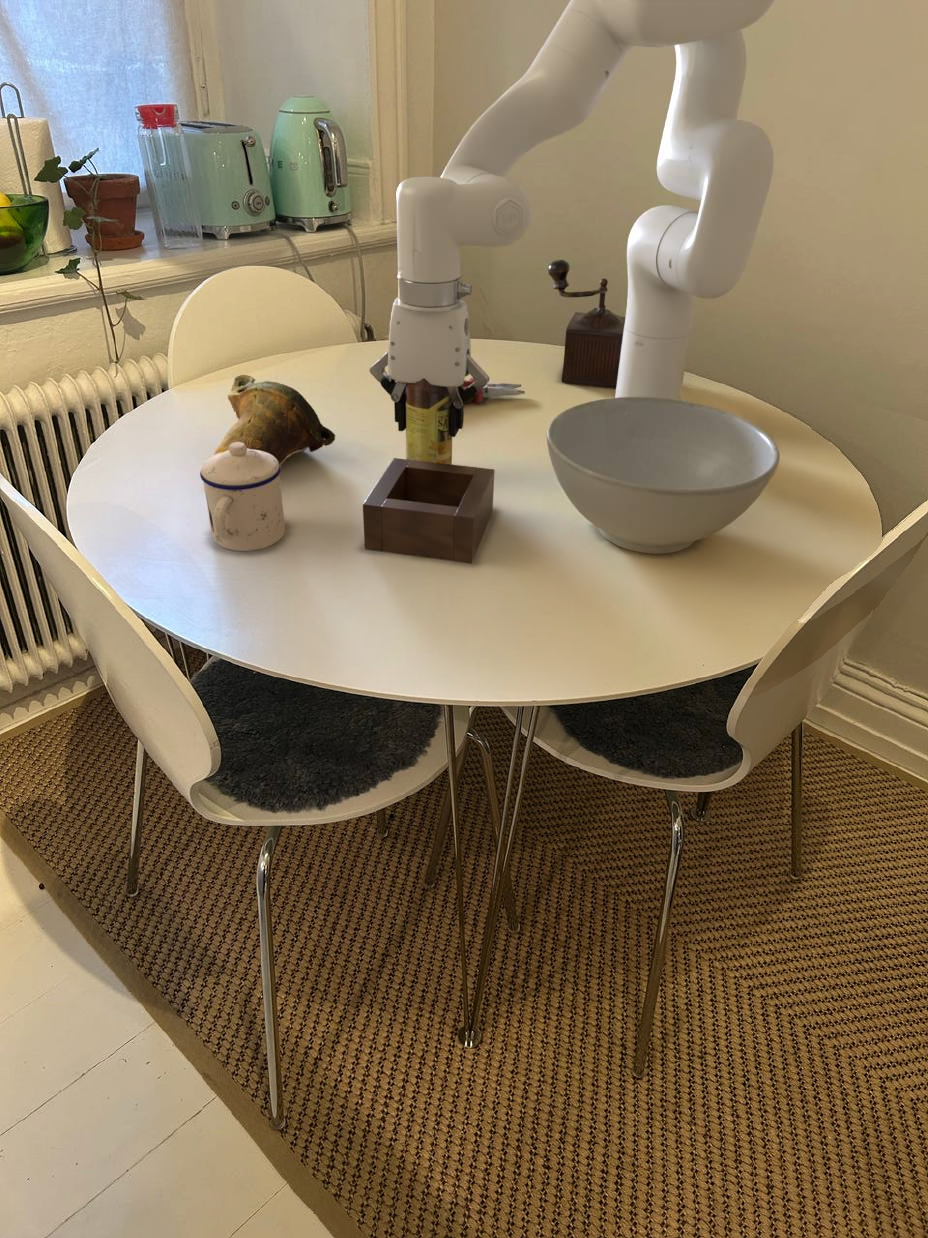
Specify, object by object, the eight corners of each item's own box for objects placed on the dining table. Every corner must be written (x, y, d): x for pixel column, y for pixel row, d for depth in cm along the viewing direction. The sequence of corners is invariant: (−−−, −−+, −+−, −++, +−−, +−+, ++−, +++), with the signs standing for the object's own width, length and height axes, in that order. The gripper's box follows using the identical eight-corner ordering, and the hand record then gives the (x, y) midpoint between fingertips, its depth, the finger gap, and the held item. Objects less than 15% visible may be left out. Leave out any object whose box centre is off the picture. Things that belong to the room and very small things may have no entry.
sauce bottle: (446, 487, 117) (448, 339, 106) (401, 482, 118) (398, 334, 107) (456, 466, 122) (459, 323, 111) (413, 462, 123) (411, 319, 112)
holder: (492, 512, 112) (494, 469, 108) (471, 563, 101) (473, 518, 98) (394, 500, 114) (393, 457, 110) (364, 549, 103) (362, 504, 100)
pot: (160, 420, 111) (240, 339, 120) (169, 476, 120) (242, 397, 130) (277, 482, 109) (349, 395, 119) (277, 533, 119) (343, 449, 128)
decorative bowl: (772, 506, 115) (794, 419, 108) (736, 610, 95) (760, 511, 88) (577, 466, 124) (586, 383, 117) (507, 553, 103) (512, 459, 96)
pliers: (530, 408, 141) (531, 393, 139) (406, 414, 137) (406, 398, 136) (514, 383, 150) (515, 368, 148) (398, 389, 147) (397, 373, 145)
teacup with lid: (229, 512, 110) (216, 425, 103) (298, 520, 109) (289, 432, 102) (187, 561, 100) (169, 468, 94) (262, 570, 99) (249, 477, 92)
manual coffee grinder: (627, 368, 158) (641, 263, 147) (620, 389, 149) (634, 279, 138) (542, 359, 161) (550, 255, 150) (530, 379, 152) (538, 270, 141)
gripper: (504, 289, 108) (497, 426, 118) (370, 278, 111) (375, 413, 121) (493, 305, 102) (487, 448, 112) (351, 293, 105) (358, 434, 115)
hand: (429, 429), depth 116 cm, fingers closed on sauce bottle, 6 cm apart
